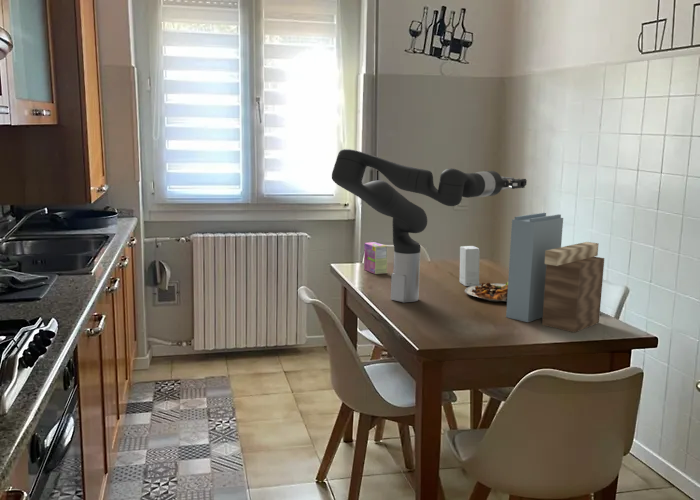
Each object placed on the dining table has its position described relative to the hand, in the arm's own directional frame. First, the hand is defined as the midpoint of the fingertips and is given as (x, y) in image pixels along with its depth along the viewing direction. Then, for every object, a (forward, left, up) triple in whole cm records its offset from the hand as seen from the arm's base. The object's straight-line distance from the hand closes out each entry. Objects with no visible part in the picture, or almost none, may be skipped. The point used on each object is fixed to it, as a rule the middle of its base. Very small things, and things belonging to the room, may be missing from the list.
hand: (513, 181), depth 221 cm
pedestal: (+8, -5, -44) cm, 45 cm away
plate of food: (+24, +16, -45) cm, 53 cm away
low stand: (+8, -19, -44) cm, 49 cm away
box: (+19, +76, -44) cm, 90 cm away
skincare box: (+30, +36, -44) cm, 65 cm away
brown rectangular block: (+5, -19, -23) cm, 30 cm away
